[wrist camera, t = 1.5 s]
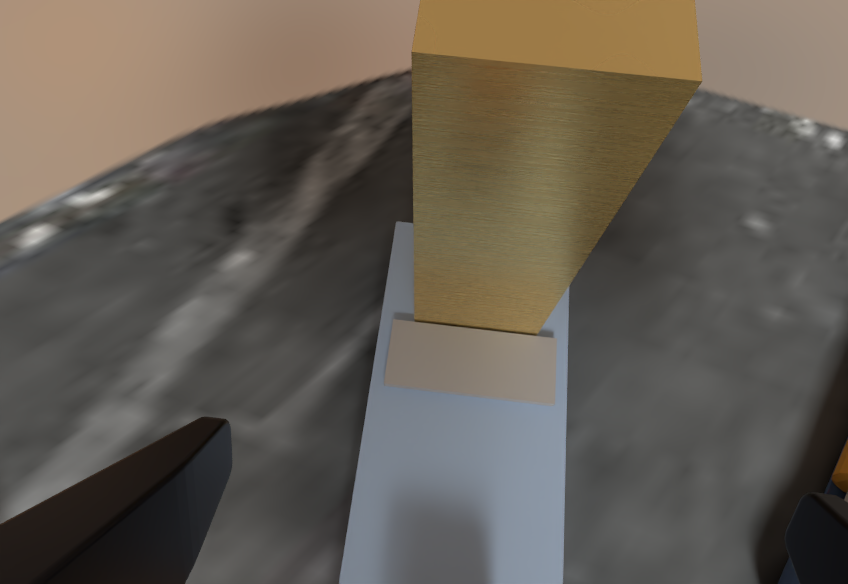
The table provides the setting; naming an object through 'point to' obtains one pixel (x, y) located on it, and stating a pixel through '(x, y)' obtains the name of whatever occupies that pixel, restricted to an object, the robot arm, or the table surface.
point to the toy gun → (842, 483)
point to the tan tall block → (533, 143)
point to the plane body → (459, 449)
